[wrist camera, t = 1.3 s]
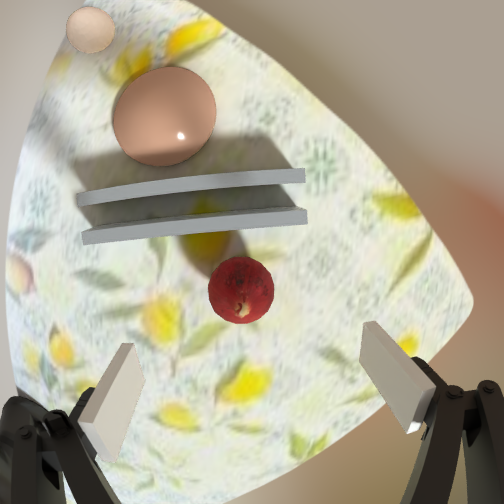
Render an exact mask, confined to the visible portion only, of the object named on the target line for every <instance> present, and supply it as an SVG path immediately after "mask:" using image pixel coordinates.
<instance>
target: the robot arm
mask: <svg viewBox="0 0 504 504" xmlns="http://www.w3.org/2000/svg"><path fill="white" fill-rule="evenodd" d="M359 362H360V363H361V365H362V366H363V368H364V369H365V371H366V372H367V374H368V375H369V377H370V378H371V380H372V381H373V383H374V385H375V386H376V388H377V389H378V391H379V392H380V394H381V395H382V397H383V398H384V400H385V401H386V403H387V404H388V406H389V407H390V409H391V410H392V412H393V413H394V415H395V416H396V418H397V420H398V421H399V423H400V424H401V426H402V427H403V429H404V431H405V432H406V434H408V433H411V432H414V431H416V430H419V429H420V428H421V425H422V423H423V421H424V422H425V423H426V425H427V427H426V430H425V432H424V434H423V436H422V438H421V440H422V444H421V447H420V450H419V453H418V457H417V460H416V463H415V466H414V469H413V472H412V474H411V477H410V480H409V482H408V485H407V488H406V490H405V493H404V495H403V498H402V500H401V502H400V504H447V503H448V499H449V496H450V492H451V488H452V484H453V480H454V475H455V471H456V466H457V461H458V456H459V450H460V444H461V437H462V440H463V448H464V457H465V466H466V478H467V495H468V504H504V397H503V395H502V392H501V389H500V387H499V385H498V384H497V383H496V382H494V381H490V380H484V381H481V382H480V383H479V385H478V387H477V389H476V390H471V391H464V390H463V389H462V388H460V387H458V386H455V385H449V386H448V385H447V384H446V383H445V382H444V381H443V380H442V379H441V378H440V377H439V375H438V374H437V373H436V372H435V371H433V369H432V368H431V367H429V365H428V364H427V363H426V362H425V361H424V360H422V359H420V358H418V357H412V358H410V357H409V356H408V355H407V354H406V353H405V352H404V351H403V350H402V348H401V347H400V346H399V345H398V344H397V343H396V342H395V341H394V340H393V339H392V338H391V337H390V336H389V335H388V334H387V333H386V332H385V331H384V329H383V328H382V327H381V326H380V325H379V324H378V323H377V322H376V321H371V322H365V323H363V333H362V342H361V350H360V358H359ZM144 383H145V378H144V375H143V372H142V369H141V365H140V362H139V359H138V355H137V352H136V348H135V345H134V343H122V344H121V346H120V348H119V349H118V351H117V353H116V354H115V356H114V358H113V359H112V361H111V363H110V364H109V366H108V368H107V369H106V371H105V373H104V374H103V376H102V378H101V380H100V381H99V383H98V385H97V387H96V388H93V387H89V388H88V389H87V390H86V391H84V392H83V393H82V395H81V397H80V398H79V401H78V402H77V403H76V406H75V407H74V408H73V410H72V412H71V414H70V415H69V417H68V416H67V414H66V413H65V412H64V411H62V410H57V409H56V410H51V411H49V412H48V411H46V410H45V409H44V408H42V407H41V406H39V405H37V404H36V403H34V402H32V401H30V400H28V399H26V398H23V397H19V396H14V397H11V398H10V399H9V400H8V401H7V402H6V404H5V405H4V407H3V410H2V416H1V419H0V504H66V497H65V490H64V482H63V473H64V476H65V478H66V480H67V483H68V485H69V487H70V490H71V492H72V494H73V496H74V498H75V501H76V503H77V504H121V502H120V501H119V499H118V497H117V496H116V494H115V493H114V491H113V490H112V488H111V486H110V485H109V483H108V481H107V480H106V478H105V476H104V474H103V473H102V471H101V469H100V467H99V466H98V464H97V462H96V461H95V457H96V454H98V456H99V457H100V459H101V460H102V461H107V462H113V463H116V462H117V459H118V456H119V453H120V450H121V447H122V444H123V441H124V438H125V435H126V433H127V430H128V427H129V424H130V421H131V418H132V416H133V413H134V410H135V407H136V405H137V402H138V399H139V397H140V394H141V391H142V389H143V386H144ZM62 471H63V473H62Z"/></svg>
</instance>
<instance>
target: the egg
mask: <svg viewBox="0 0 504 504" xmlns="http://www.w3.org/2000/svg"><path fill="white" fill-rule="evenodd" d="M66 33H67V37H68V40H69V41H70V43H71V44H72V45H73V46H74V47H75V48H76V49H77V50H79V51H81V52H84V53H96V52H100V51H102V50H104V49H105V48H106V47H108V46H109V44H110V43H111V42H112V40H113V38H114V34H115V25H114V22H113V20H112V18H111V17H110V16H109V15H108V14H107V13H106V12H105V11H103V10H101V9H98V8H95V7H83V8H80V9H78V10H76V11H74V12H73V13H72V14H71V15H70V17H69V18H68V21H67V24H66Z"/></svg>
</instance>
